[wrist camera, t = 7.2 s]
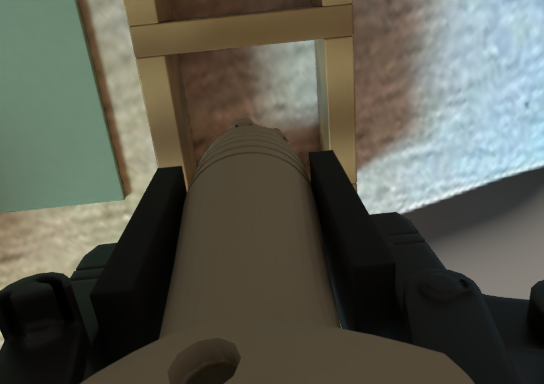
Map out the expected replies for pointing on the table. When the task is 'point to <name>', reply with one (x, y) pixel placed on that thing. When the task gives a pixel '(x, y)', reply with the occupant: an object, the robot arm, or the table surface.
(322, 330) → the handle
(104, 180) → the mat
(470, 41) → the table surface
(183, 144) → the rack
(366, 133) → the table surface
